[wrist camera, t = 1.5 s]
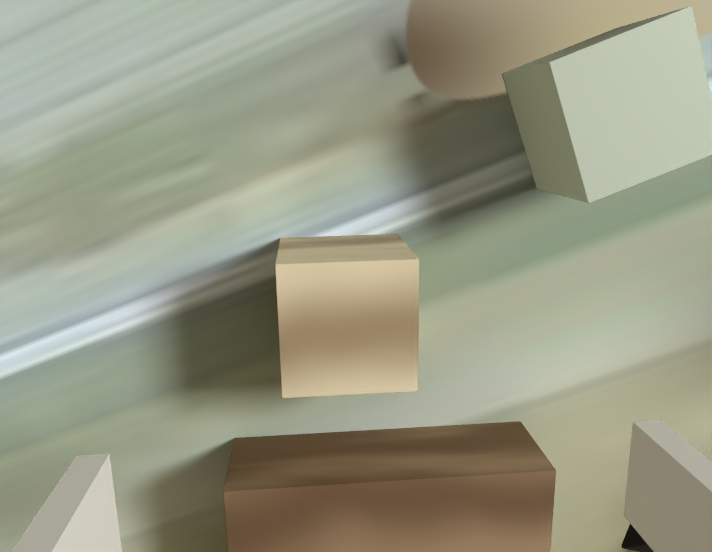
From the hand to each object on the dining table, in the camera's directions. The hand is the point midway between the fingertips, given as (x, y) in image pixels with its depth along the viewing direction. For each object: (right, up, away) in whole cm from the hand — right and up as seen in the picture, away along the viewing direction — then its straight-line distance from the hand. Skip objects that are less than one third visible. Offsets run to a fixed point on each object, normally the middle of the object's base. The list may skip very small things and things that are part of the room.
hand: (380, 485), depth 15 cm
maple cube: (-1, +4, +17) cm, 17 cm away
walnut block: (+1, -11, +21) cm, 23 cm away
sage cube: (+10, +14, +15) cm, 23 cm away
